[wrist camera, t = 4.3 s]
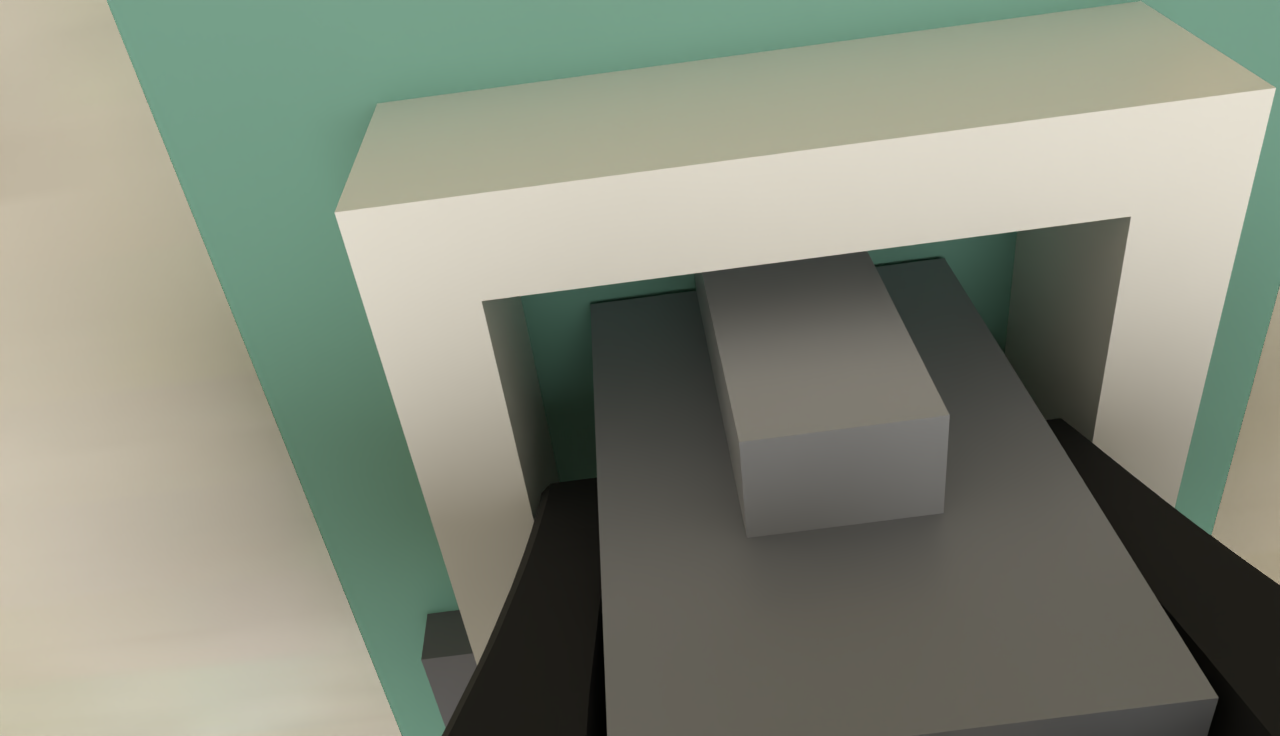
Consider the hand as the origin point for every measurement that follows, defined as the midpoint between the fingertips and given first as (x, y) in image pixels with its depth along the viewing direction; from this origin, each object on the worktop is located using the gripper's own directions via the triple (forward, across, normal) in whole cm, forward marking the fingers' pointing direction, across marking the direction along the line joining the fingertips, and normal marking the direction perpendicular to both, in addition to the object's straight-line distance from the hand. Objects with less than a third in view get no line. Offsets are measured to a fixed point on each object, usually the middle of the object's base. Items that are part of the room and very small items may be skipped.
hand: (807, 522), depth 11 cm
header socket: (+2, 0, 0) cm, 2 cm away
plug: (+2, 0, 0) cm, 2 cm away
